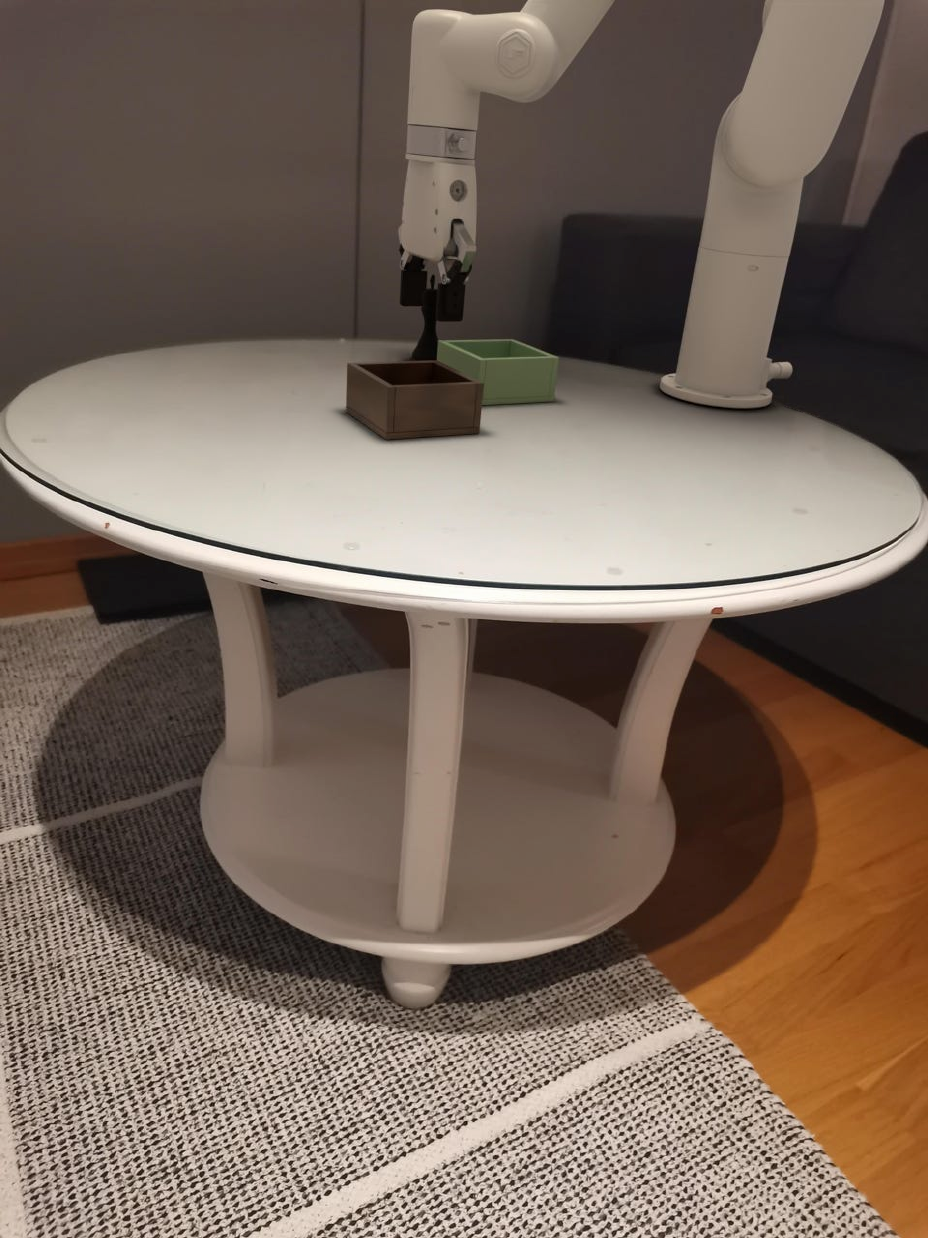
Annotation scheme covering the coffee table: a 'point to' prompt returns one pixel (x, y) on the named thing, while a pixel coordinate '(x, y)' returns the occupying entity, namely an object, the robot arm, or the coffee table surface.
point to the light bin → (503, 369)
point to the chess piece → (428, 327)
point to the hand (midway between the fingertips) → (430, 312)
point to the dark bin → (413, 399)
